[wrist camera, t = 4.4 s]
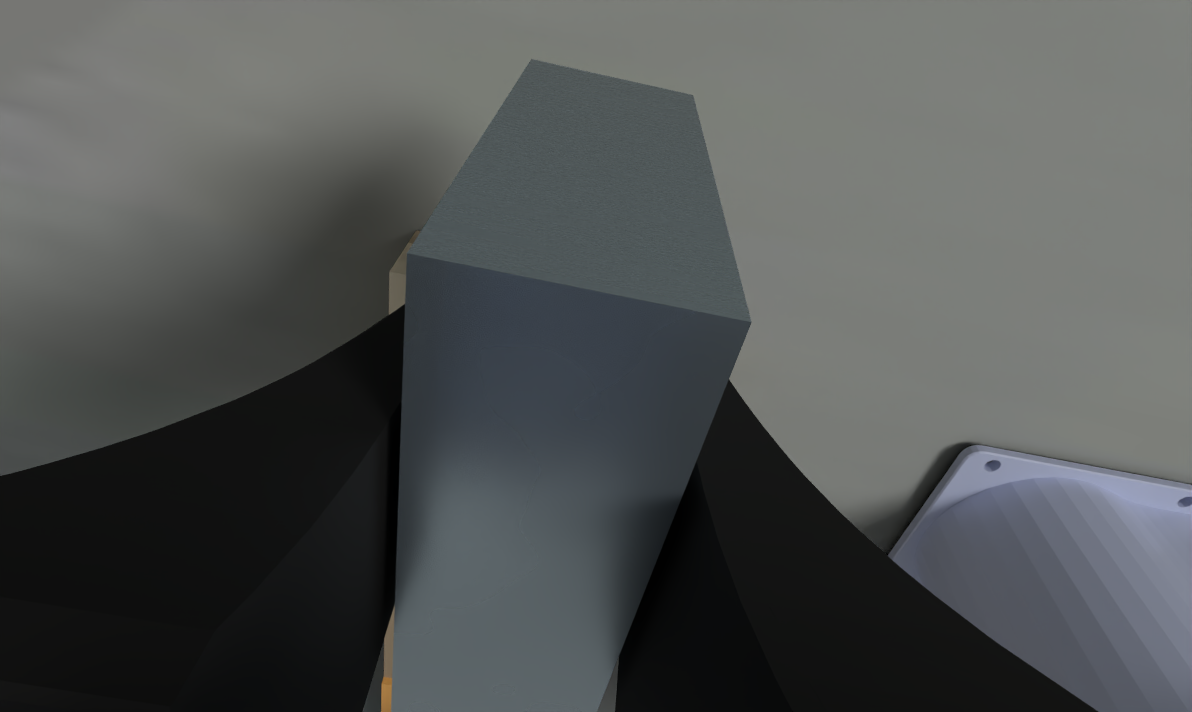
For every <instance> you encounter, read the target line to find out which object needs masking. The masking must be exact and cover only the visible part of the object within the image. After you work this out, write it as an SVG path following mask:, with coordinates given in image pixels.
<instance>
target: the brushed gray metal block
mask: <svg viewBox="0 0 1192 712" xmlns="http://www.w3.org/2000/svg"><path fill="white" fill-rule="evenodd" d="M750 324H751V319H750V315H749V311H748V307H747V303H746V299H745V295H744V291H743V287H742V284H741V280H740V276H739V272H738V268H737V264H736V260H735V256H734V252H733V248H732V245H731V241H730V237H729V233H728V229H727V225H726V221H725V217H724V213H723V210H722V206H721V202H720V198H719V194H718V190H717V186H716V182H715V178H714V175H713V171H712V167H711V163H710V159H709V155H708V151H707V147H706V143H705V139H704V136H703V132H702V128H701V124H700V120H699V116H698V112H697V108H696V104H695V101H694V97H693V95H690V94H686V93H681V92H677V91H672V90H668V89H663V88H659V87H654V86H650V85H645V84H641V83H636V82H632V81H627V80H623V79H618V78H614V77H609V76H605V75H600V74H596V73H591V72H587V71H583V70H578V69H574V68H569V67H565V66H560V65H556V64H551V63H547V62H542V61H538V60H533V59H531V60H530V62H529V64H528V65H527V67H526V68H525V70H524V71H523V73H522V75H521V76H520V78H519V79H518V81H517V82H516V84H515V85H514V87H513V89H512V90H511V92H510V93H509V95H508V96H507V98H506V99H505V101H504V103H503V104H502V106H501V107H500V109H499V110H498V112H497V113H496V115H495V117H494V118H493V120H492V121H491V123H490V124H489V126H488V128H487V129H486V131H485V132H484V134H483V135H482V137H481V138H480V140H479V142H478V143H477V145H476V146H475V148H474V149H473V151H472V152H471V154H470V156H469V157H468V159H467V160H466V162H465V163H464V165H463V166H462V168H461V170H460V171H459V173H458V174H457V176H456V177H455V179H454V181H453V182H452V184H451V185H450V187H449V188H448V190H447V191H446V193H445V195H444V196H443V198H442V199H441V201H440V202H439V204H438V205H437V207H436V209H435V210H434V212H433V213H432V215H431V216H430V218H429V220H428V221H427V223H426V224H425V226H424V227H423V229H422V230H421V232H420V234H419V235H418V237H417V238H416V240H415V241H414V243H413V244H412V246H411V248H410V249H409V251H408V252H407V264H406V293H405V322H404V351H403V380H402V409H401V438H400V467H399V496H398V525H397V554H396V583H395V612H394V640H393V669H392V698H391V712H597V710H598V708H599V705H600V703H601V700H602V698H603V695H604V693H605V690H606V687H607V685H608V682H609V680H610V677H611V675H612V672H613V670H614V667H615V665H616V662H617V660H618V657H619V655H620V652H621V650H622V647H623V645H624V642H625V640H626V637H627V635H628V632H629V630H630V627H631V624H632V622H633V619H634V617H635V614H636V612H637V609H638V607H639V604H640V602H641V599H642V597H643V594H644V592H645V589H646V587H647V584H648V582H649V579H650V577H651V574H652V572H653V569H654V566H655V564H656V561H657V559H658V556H659V554H660V551H661V549H662V546H663V544H664V541H665V539H666V536H667V534H668V531H669V529H670V526H671V524H672V521H673V519H674V516H675V514H676V511H677V508H678V506H679V503H680V501H681V498H682V496H683V493H684V491H685V488H686V486H687V483H688V481H689V478H690V476H691V473H692V471H693V468H694V466H695V463H696V461H697V458H698V456H699V453H700V451H701V448H702V445H703V443H704V440H705V438H706V435H707V433H708V430H709V428H710V425H711V423H712V420H713V418H714V415H715V413H716V410H717V408H718V405H719V403H720V400H721V398H722V395H723V393H724V390H725V387H726V385H727V382H728V380H729V377H730V375H731V372H732V370H733V367H734V365H735V362H736V360H737V357H738V355H739V352H740V350H741V347H742V345H743V342H744V340H745V337H746V335H747V332H748V329H749V327H750Z"/></svg>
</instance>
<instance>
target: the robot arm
mask: <svg viewBox="0 0 1192 712" xmlns="http://www.w3.org/2000/svg"><path fill="white" fill-rule="evenodd" d="M404 322H405V304H404V305H402V306H401V307H399V308H398V309H397V310H395V311H394V312H392V313H391V314H390V315H388V316H387V317H385V318H384V319H382V320H381V321H379V322H378V323H376V324H375V325H373V326H372V327H370V328H369V329H367V330H366V331H364V332H363V333H361V334H360V335H358V336H357V337H355V338H353V339H352V340H350V341H349V342H347V343H345V344H343V345H342V346H340V347H338V348H337V349H335V350H333V351H332V352H330V353H328V354H327V355H325V356H323V357H322V358H320V359H318V360H316V361H315V362H313V363H311V364H309V365H307V366H306V367H304V368H302V369H300V370H298V371H296V372H294V373H292V374H290V375H288V376H286V377H284V378H282V379H280V380H278V381H275V382H273V383H271V384H269V385H267V386H265V387H263V388H260V389H258V390H256V391H254V392H252V393H250V394H247V395H245V396H243V397H240V398H238V399H236V400H233V401H231V402H228V403H226V404H223V405H221V406H218V407H215V408H213V409H210V410H207V411H205V412H202V413H200V414H197V415H194V416H192V417H189V418H187V419H184V420H181V421H179V422H176V423H174V424H171V425H168V426H166V427H163V428H160V429H158V430H155V431H152V432H149V433H146V434H143V435H140V436H137V437H134V438H131V439H128V440H125V441H122V442H118V443H115V444H112V445H109V446H106V447H103V448H100V449H96V450H93V451H89V452H86V453H83V454H79V455H76V456H72V457H69V458H66V459H62V460H59V461H55V462H52V463H48V464H45V465H41V466H37V467H34V468H30V469H26V470H23V471H19V472H15V473H11V474H7V475H3V476H0V712H362V711H363V708H364V704H365V701H366V698H367V694H368V691H369V688H370V684H371V681H372V678H373V674H374V671H375V667H376V664H377V661H378V657H379V654H380V651H381V648H382V644H383V641H384V638H385V635H386V631H387V628H388V625H389V622H390V618H391V615H392V612H393V609H394V605H395V583H396V554H397V525H398V496H399V467H400V438H401V409H402V380H403V351H404ZM992 460H993V461H992ZM989 461H992V462H989ZM987 462H989V463H987ZM615 712H1192V485H1190V484H1185V483H1180V482H1174V481H1169V480H1164V479H1158V478H1153V477H1148V476H1142V475H1137V474H1132V473H1126V472H1121V471H1116V470H1110V469H1105V468H1100V467H1094V466H1089V465H1084V464H1079V463H1073V462H1068V461H1063V460H1057V459H1052V458H1047V457H1041V456H1036V455H1031V454H1025V453H1020V452H1015V451H1009V450H1004V449H999V448H993V447H988V446H983V445H973V446H969V447H967V448H965V449H964V450H963V451H962V452H961V453H960V454H959V455H958V457H957V458H956V460H955V461H954V462H953V464H952V465H951V467H950V468H949V469H948V471H947V472H946V474H945V475H944V477H943V478H942V479H941V481H940V482H939V484H938V485H937V486H936V488H935V489H934V491H933V492H932V494H931V495H930V496H929V498H928V499H927V501H926V502H925V503H924V505H923V506H922V508H921V509H920V511H919V512H918V513H917V515H916V516H915V518H914V519H913V520H912V522H911V523H910V525H909V526H908V528H907V529H906V530H905V532H904V533H903V535H902V536H901V537H900V539H899V540H898V542H897V543H896V545H895V546H894V547H893V549H892V550H891V552H890V553H889V554H888V556H887V555H886V554H885V553H884V552H883V551H882V550H880V549H879V548H878V547H877V546H876V545H875V544H874V543H873V542H871V541H870V540H869V539H868V538H867V537H866V536H865V535H864V534H862V533H861V532H860V531H859V530H858V529H857V528H856V527H855V526H854V525H853V524H852V523H851V522H850V521H849V520H847V519H846V518H845V517H844V516H843V515H842V514H841V513H840V512H839V511H838V510H837V509H836V508H835V507H834V506H833V505H832V504H831V503H830V502H829V501H828V500H827V499H826V498H825V496H824V495H823V494H822V493H821V492H820V491H819V490H818V489H817V488H816V487H815V486H814V485H813V484H812V483H811V482H810V481H809V480H808V479H807V478H806V477H805V476H804V475H803V473H802V472H801V471H800V470H799V469H798V468H797V467H796V466H795V464H794V463H793V462H792V461H791V460H790V459H789V458H788V456H787V455H786V454H785V453H784V452H783V450H782V449H781V448H780V447H779V445H778V444H777V443H776V442H775V441H774V439H773V438H772V437H771V436H770V434H769V433H768V432H767V431H766V430H765V428H764V427H763V426H762V424H761V423H760V422H759V420H758V419H757V418H756V417H755V415H754V414H753V413H752V411H751V410H750V409H749V407H748V406H747V404H746V403H745V402H744V400H743V399H742V397H741V396H740V395H739V393H738V392H737V390H736V389H735V388H734V386H733V385H732V383H731V382H730V380H728V382H727V385H726V387H725V390H724V393H723V395H722V398H721V400H720V403H719V405H718V408H717V410H716V413H715V415H714V418H713V420H712V423H711V425H710V428H709V430H708V433H707V435H706V438H705V440H704V443H703V445H702V448H701V451H700V453H699V456H698V458H697V461H696V463H695V466H694V468H693V471H692V473H691V476H690V478H689V481H688V483H687V486H686V488H685V491H684V493H683V496H682V498H681V501H680V503H679V506H678V508H677V511H676V514H675V516H674V519H673V521H672V524H671V526H670V529H669V531H668V534H667V536H666V539H665V541H664V544H663V546H662V549H661V551H660V554H659V556H658V559H657V561H656V564H655V566H654V569H653V572H652V574H651V577H650V579H649V582H648V584H647V587H646V589H645V592H644V594H643V597H642V599H641V602H640V604H639V607H638V609H637V612H636V614H635V617H634V619H633V622H632V624H631V627H630V630H629V632H628V635H627V637H626V640H625V642H624V645H623V647H622V650H621V652H620V655H619V666H618V680H617V695H616V707H615Z"/></svg>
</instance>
